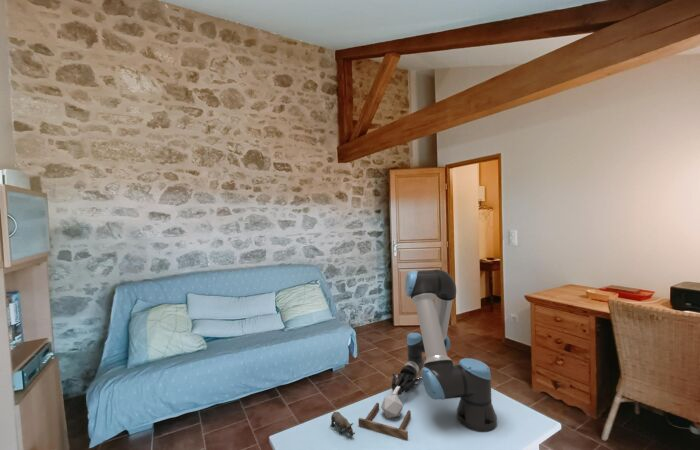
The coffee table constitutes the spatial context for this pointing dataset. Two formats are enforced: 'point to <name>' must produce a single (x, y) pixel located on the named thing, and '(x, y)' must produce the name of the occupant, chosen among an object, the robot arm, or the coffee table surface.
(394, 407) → the die
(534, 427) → the coffee table surface
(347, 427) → the rhino figurine
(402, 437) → the frame
